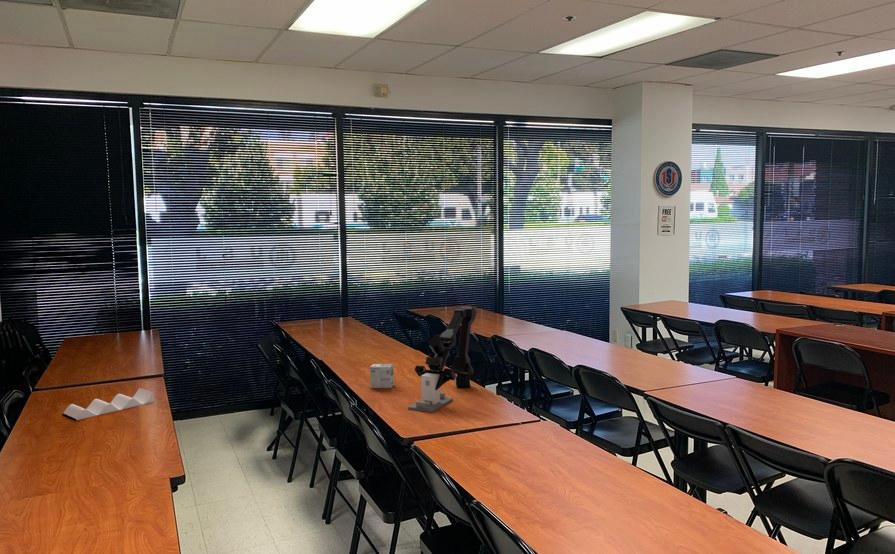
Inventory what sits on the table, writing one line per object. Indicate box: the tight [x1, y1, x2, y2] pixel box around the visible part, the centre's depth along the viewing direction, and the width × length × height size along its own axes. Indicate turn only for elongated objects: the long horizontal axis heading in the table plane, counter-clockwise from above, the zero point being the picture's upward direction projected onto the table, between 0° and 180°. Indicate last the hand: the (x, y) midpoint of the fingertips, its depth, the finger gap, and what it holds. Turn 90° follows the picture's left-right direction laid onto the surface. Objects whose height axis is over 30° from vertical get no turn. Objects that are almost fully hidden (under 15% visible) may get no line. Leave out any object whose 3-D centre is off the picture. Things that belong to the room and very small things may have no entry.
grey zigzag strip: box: [61, 387, 155, 422], centre depth 300 cm, size 13×35×5 cm, turn 141°
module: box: [420, 373, 441, 405], centre depth 298 cm, size 6×6×12 cm
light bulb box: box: [369, 363, 395, 389], centre depth 331 cm, size 11×7×11 cm, turn 84°
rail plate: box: [407, 391, 454, 413], centre depth 299 cm, size 20×12×3 cm, turn 153°
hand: (429, 388), depth 297 cm, fingers closed on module, 6 cm apart
